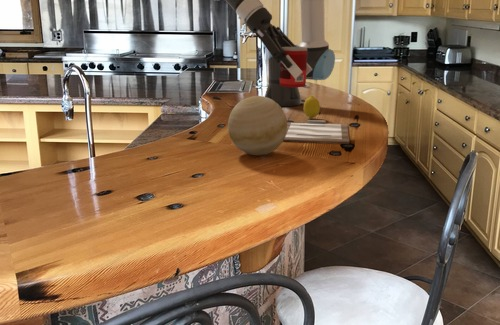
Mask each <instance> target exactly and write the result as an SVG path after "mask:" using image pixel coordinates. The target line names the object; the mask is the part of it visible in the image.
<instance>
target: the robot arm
mask: <svg viewBox="0 0 500 325" xmlns="http://www.w3.org/2000/svg"><path fill="white" fill-rule="evenodd" d="M214 1H216V2H218V1H219V0H214ZM225 2H226V3H227V4H228V5H229V6H230V7H231V8H232V10H233V11H234V12H235V14H236V15H237V16H238V19H239V20H241V21H242V22H243V23H245V25H246V28H248V30H250V32H251V33H252V34H255V36H256V37H257V38H258V39H259V41H261V42H262V44H263V46H264V47H265V48H266V50H268V57H267V60H268V84H267V88H266V91H265V95H264V97H267V98H270V99H272V100H273V101H275V102H276V103H277V104H279V106H280V107H293V106H300V105H301V104H302V97H301V92H300V91H299V87H283V86H281V85H280V61H281V62H282V64H283V65H284V66H285V67H286V68H287V70H288V71H289V72H290V73H291V74H292V76H293V77H294V78H295V79H296V78H297V77H298V76H299V75H300V74H301V73H302V71H301V70H300V68H299V67H298V66H297V65H296V64H295V62H294V61H293V60H292V59H291V58H290V56H289V55H287V56H286V54H285V52H284V50H283V49H282V47H305V48H307V69H306V80H310V81H311V80H312V81H324V80H327V79H328V78H329V77H330V76H331V75H332V73H333V70H334V69H335V64H336V63H335V62H336V56H335V52H334V51H333V50H332V49H330V47H329V45H330V44H329V42H328V41H327V40H326V39H325V0H300V22H301V23H300V25H301V26H300V28H301V41H300V43H299V44H295V43H293V41H292V40H291V39H290V38H289V37H288V36H287V35H286V34H285V33H284V32H283V31H282V29H281V28H280V27H279V26H275V25H273V24H272V23H271V21H272V20H273V16H272V14H271V12H269V10H268V9H267V8H266V7H264V4H263V3H262V1H260V0H225Z"/></svg>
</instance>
